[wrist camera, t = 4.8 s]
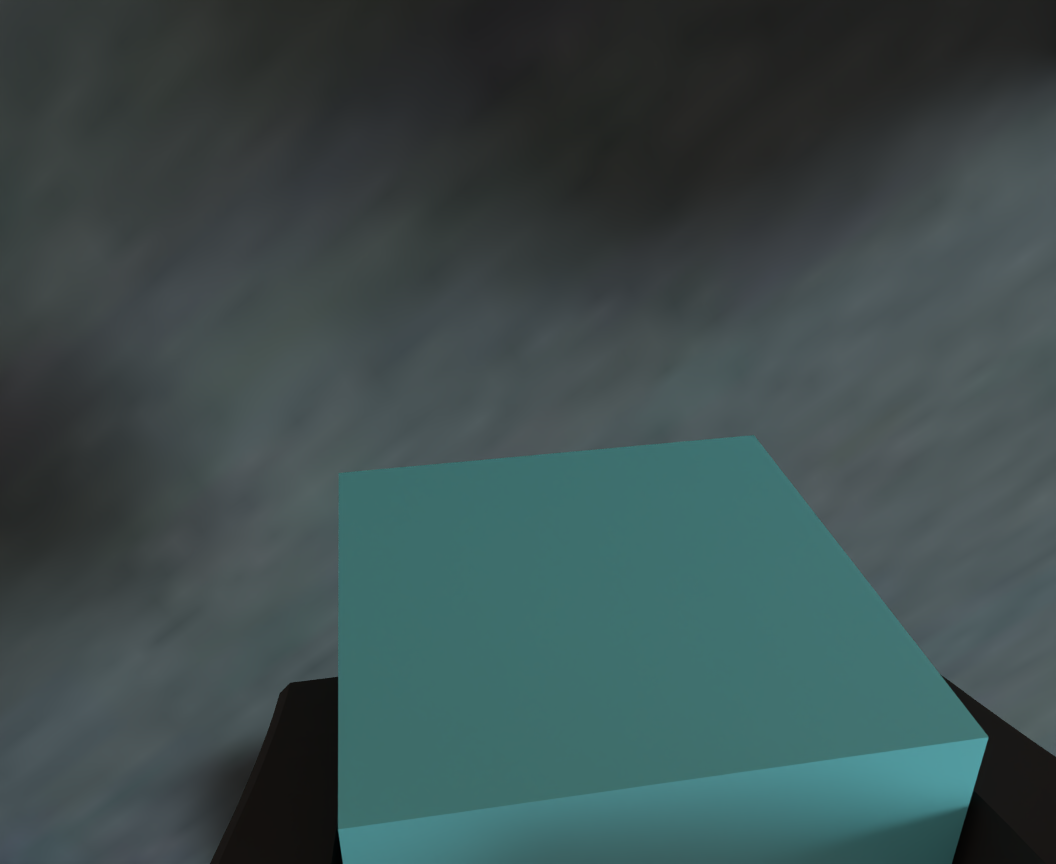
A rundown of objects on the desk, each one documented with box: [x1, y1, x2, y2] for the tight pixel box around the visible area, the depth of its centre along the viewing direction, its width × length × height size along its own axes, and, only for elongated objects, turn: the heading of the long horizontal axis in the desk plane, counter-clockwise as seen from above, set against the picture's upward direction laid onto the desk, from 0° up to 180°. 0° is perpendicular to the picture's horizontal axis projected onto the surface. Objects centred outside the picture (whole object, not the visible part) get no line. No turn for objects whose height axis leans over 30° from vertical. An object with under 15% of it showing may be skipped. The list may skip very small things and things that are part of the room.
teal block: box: [338, 435, 989, 864], centre depth 10 cm, size 4×4×4 cm
